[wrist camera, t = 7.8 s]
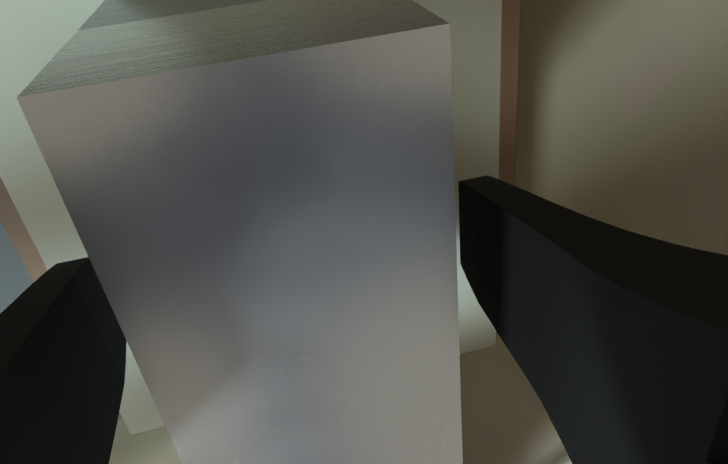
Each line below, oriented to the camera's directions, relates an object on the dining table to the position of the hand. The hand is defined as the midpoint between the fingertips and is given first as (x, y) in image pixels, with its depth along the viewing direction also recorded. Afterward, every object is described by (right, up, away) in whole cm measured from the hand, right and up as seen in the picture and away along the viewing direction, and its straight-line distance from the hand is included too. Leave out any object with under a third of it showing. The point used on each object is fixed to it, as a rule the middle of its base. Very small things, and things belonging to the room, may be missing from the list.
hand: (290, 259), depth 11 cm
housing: (-1, +2, +2) cm, 3 cm away
